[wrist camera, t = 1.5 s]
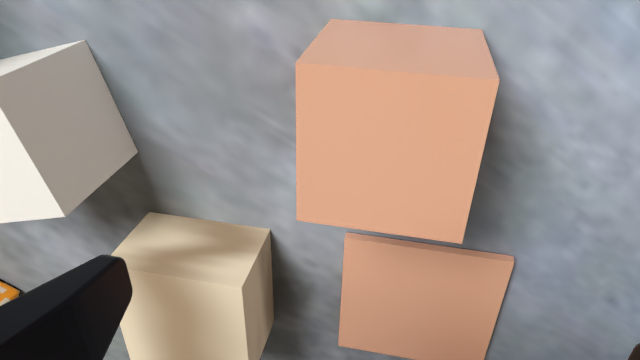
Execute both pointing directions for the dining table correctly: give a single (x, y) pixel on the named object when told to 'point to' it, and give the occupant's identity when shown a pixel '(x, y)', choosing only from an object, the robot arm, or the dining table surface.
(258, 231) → the birch block
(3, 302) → the supplement box
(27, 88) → the off-white cube
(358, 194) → the terracotta cube
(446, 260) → the terracotta tile
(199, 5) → the dining table surface
